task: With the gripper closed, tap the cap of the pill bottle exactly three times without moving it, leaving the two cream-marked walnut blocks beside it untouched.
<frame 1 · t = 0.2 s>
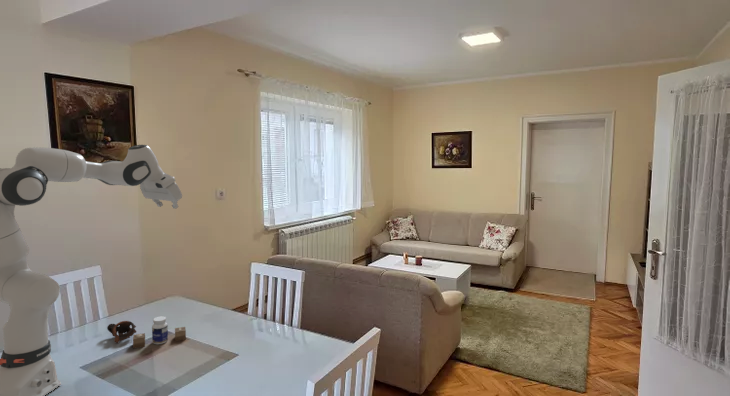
hand: (168, 206, 177), 54 cm above the table, tool tilted 30°, fingers open, 8 cm apart
walnut block dot: (139, 345, 161), on the table
pottery mug: (121, 338, 167), on the table
walnut block bar: (180, 338, 168), on the table
pill bottle: (160, 342, 165), on the table
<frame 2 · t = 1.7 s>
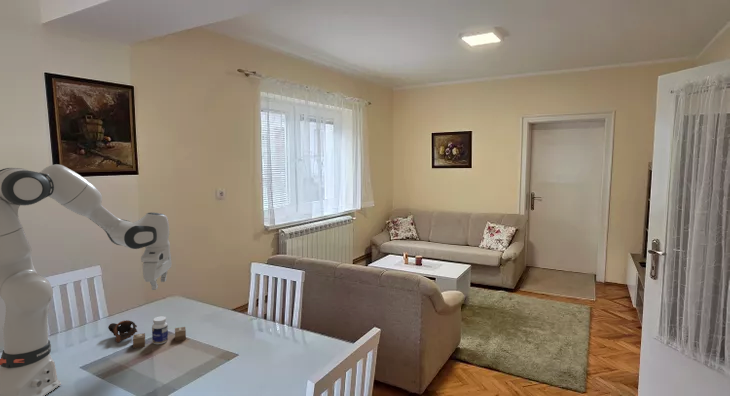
hand: (159, 285, 163), 24 cm above the table, tool pointing down, fingers open, 8 cm apart
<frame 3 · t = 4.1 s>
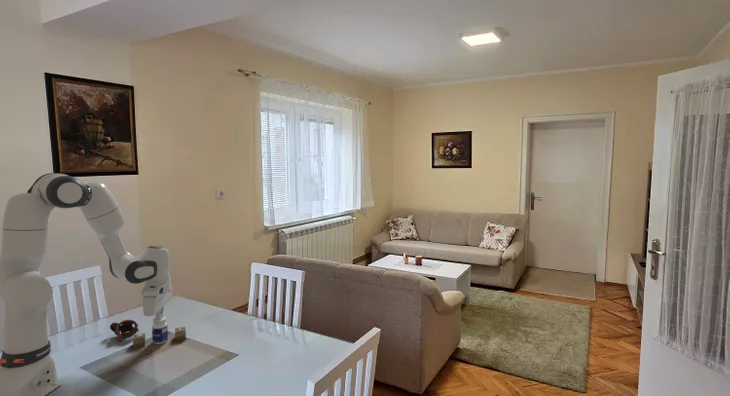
hand: (159, 317, 164), 10 cm above the table, tool pointing down, fingers closed
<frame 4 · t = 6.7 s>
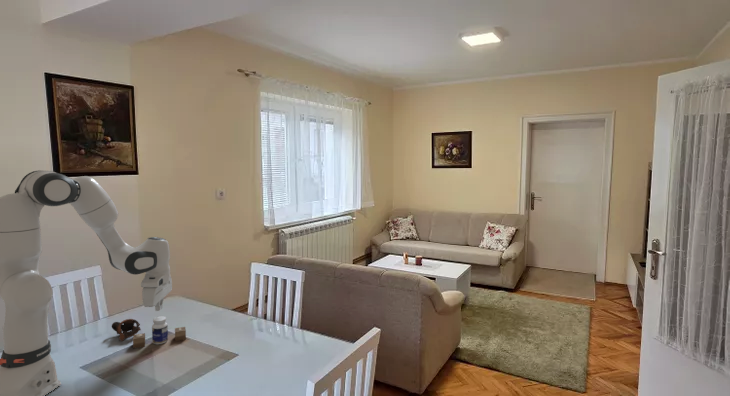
hand: (158, 309, 163), 14 cm above the table, tool pointing down, fingers closed
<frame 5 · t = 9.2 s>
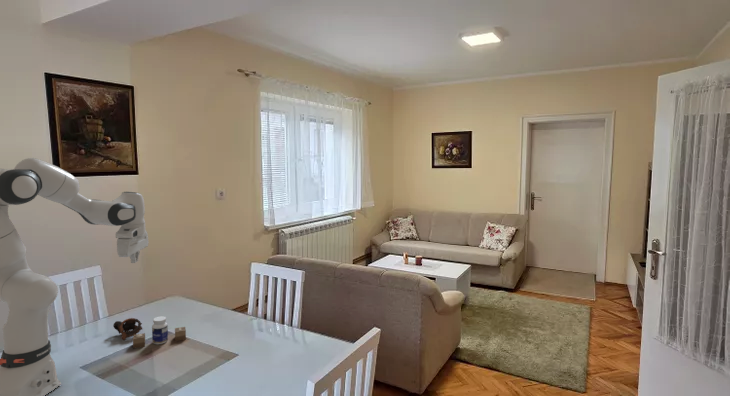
hand: (134, 262, 169), 31 cm above the table, tool pointing down, fingers closed
at the end: pill bottle moved 0.2 cm from its start; pill bottle tilted 0°; walnut block dot moved 0.1 cm from its start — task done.
